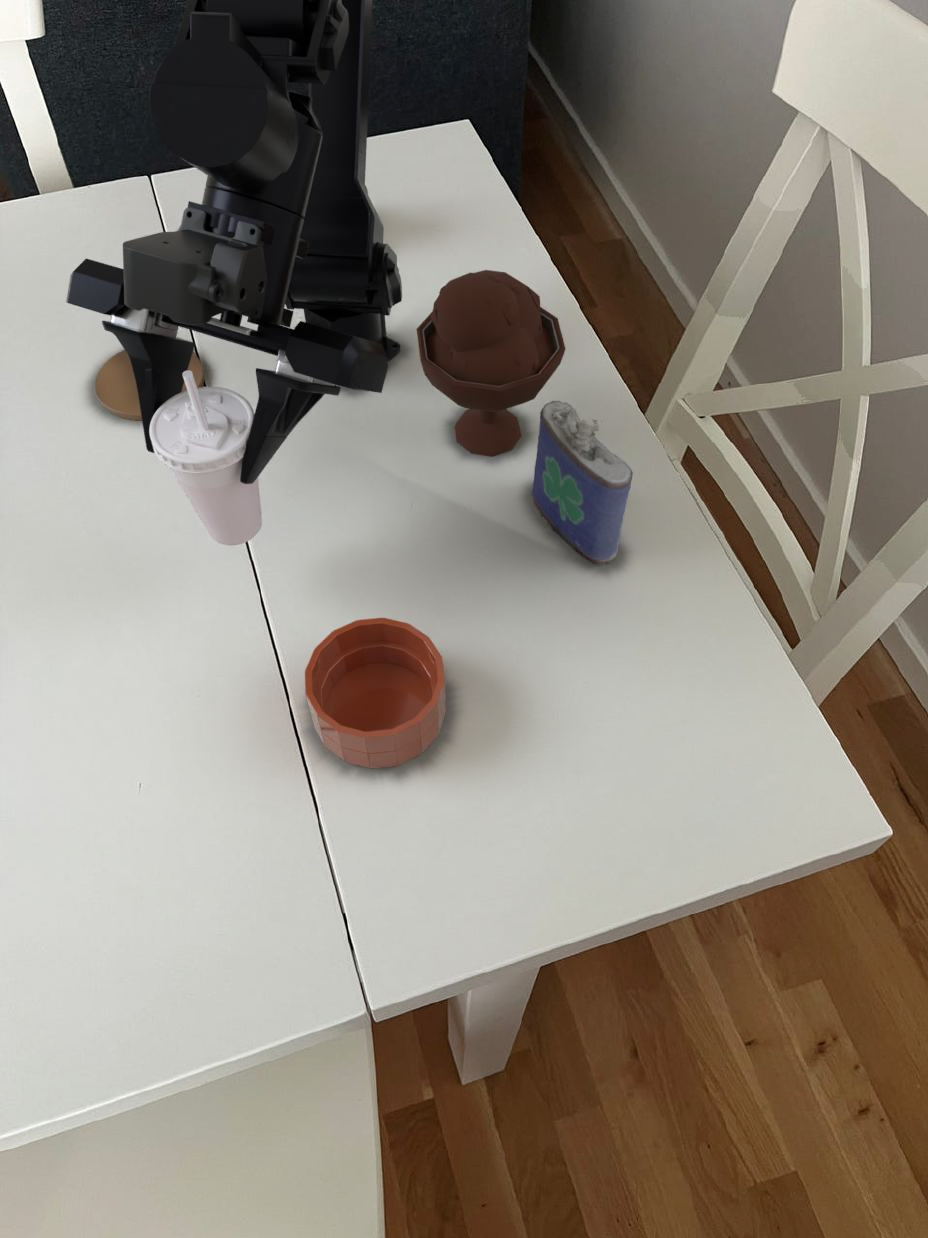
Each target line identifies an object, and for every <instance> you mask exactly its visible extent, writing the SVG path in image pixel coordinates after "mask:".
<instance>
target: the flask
mask: <svg viewBox="0 0 928 1238" xmlns="http://www.w3.org/2000/svg"><path fill="white" fill-rule="evenodd" d="M539 414H540V415H539V431H538V436H537V445H536V446H537V450H536V458H535V464H534V475H533V483H532V490H531V499H532V502H533V504H534V507H535V508H536V509H537V511H538V513H539V515H540V517H541V518H543V520H544V522H545V523H546V524H547V526H548V527H550V528H551V530H552V531H553V532H555V533H556V534H558V536H559V537H560V538H561V539H562V540H563V541H564V542H565V543H566V544H567V545H568V546H569V547H571V549H573V551H575V552H576V553H577V554H579V556H580V557H581V558H583V559H585V560H586V561H588V562H590V563H591V564H593V565H596V566H597V567H598V566H607V565H608V564H610V563H612V562H613V561H615V559H616V557H617V554H618V551H619V545H620V537H621V534H622V533H621V532H622V526H623V522H624V516H625V512H626V506H627V503H628V497H629V492H630V490H631V487H632V482H633V476H634V475H633V474H634V472H633V470H632V467H630V465H628V463H627V462H625V461H624V460H623V459H621V458H619V457H618V456H617V455H616V454H615V453H613V452H612V451H610V450H609V449H608V448H607V446H605V445H604V444H603V443H602V442H601V441H600V440H598V438H597V437H596V432H599V431H600V429H601V428H600V425H599V423H598V419H595V418H592V422H593V424H591V425H590V424H588V422H587V420H586V419H581V418H580V416H579V414H578V412H577V410H576V408H574V407H573V406H572V405H571V404H570V403H568V402H566V401H560V400H552V401H550V402H548V403H546V404H545V405H543V407H542V408H541V410H540V412H539Z"/></svg>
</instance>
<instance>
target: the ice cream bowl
mask: <svg viewBox="0 0 928 1238" xmlns="http://www.w3.org/2000/svg"><path fill="white" fill-rule="evenodd" d="M432 306H433V307H432V311H431V312H430V313H429V314H428V315H427V316H426V317H425V319H424V320H423V321H422V322H421V323H420V324H419V325H418V327H417V328H416V335H417V336H416V337H417V344H418V351H419V359H420V363H421V367H422V371H423V373H424V376H425V377H426V379H427V380H428V382H429V383H430V384H431V385H432V387H434V388H435V389H437V390H438V391H439V392H440V393H442V395H444V396H446V397H447V398H448V399H450V400H451V401H452V402H454V404H456V405H457V406H459V407H462V408H464V409H466V410H465V411H464V412H463V413H462V415H461V416H460V417H459V418H458V419H457V421H456V422H455V425H454V433H455V439H456V443H457V444H458V445H460V446H461V447H462V448H463V449H465V450H466V451H467V452H469V453H470V454H473V455H478V456H479V455H480V456H486V457H496V456H498V455H502V454H504V453H508V452H510V451H512V450H513V449H514V448H515V446H516V445H517V444H518V443H519V441H520V440H521V438H523V437H522V430H521V426H520V421H519V418H518V417H517V416H516V415H515V414H514V413H512V412H511V411H509V410H508V409H511V408H513V407H517V406H519V405H523V404H525V403H528V402H530V401H533V400H535V399H536V397H537V396H538V395H539V394H540V392H541V391H542V389H543V388H544V387H545V385H546V384H547V382H548V381H549V380H550V379H551V377H552V376H553V375H554V373H555V372H556V371H557V369H558V368H559V366H560V365H561V363H562V360H563V358H564V354H565V352H566V345H565V341H564V338H563V334H562V329H561V325H560V323H559V317H557V316H555V315H554V314H552V313H550V312H549V311H548V310H546V309H545V308H543V307H542V306H541V297H540V295H539V294H538V293H537V292H536V291H534V290H533V289H532V288H531V287H529V286H528V285H527V284H525V283H523V282H522V281H520V280H519V279H517V278H515V277H514V276H512V275H511V274H509V273H507V272H505V271H498V270H490V269H483V270H480V271H476V272H471V271H470V272H468V273H465V274H463V275H460V276H458V277H455V278H453V279H450V280H449V281H448V282H447V283H446V284H445V285H444V286H442V287H441V288H440V290H439V293H438V296H437V298H436V299H435V301H434V302H433V305H432Z"/></svg>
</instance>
